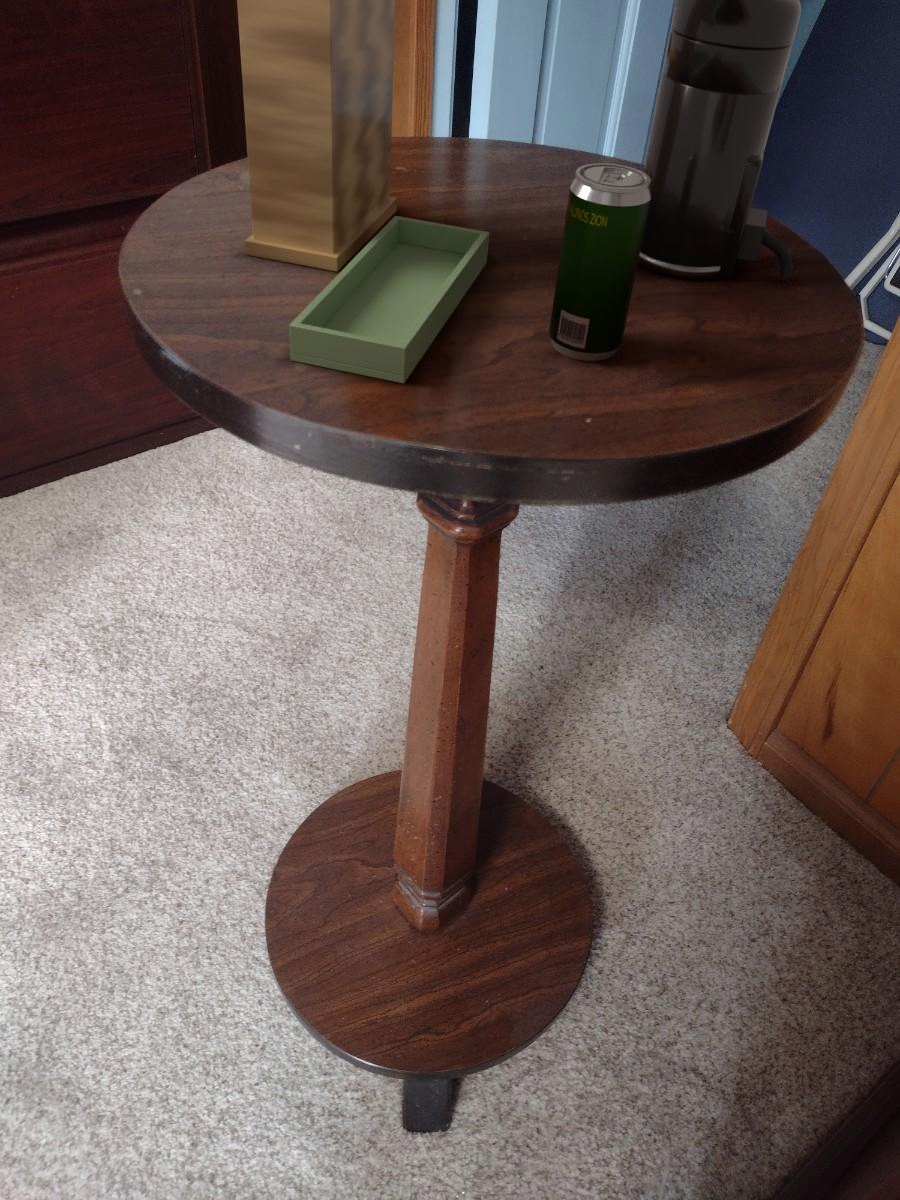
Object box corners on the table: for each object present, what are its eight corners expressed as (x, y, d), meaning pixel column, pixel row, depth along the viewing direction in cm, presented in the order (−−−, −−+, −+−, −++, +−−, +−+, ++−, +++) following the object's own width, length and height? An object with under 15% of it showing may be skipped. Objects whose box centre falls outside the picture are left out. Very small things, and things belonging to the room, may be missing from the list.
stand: (315, 196, 90) (305, -226, 70) (396, 211, 89) (410, -216, 69) (245, 254, 79) (210, -227, 59) (337, 272, 78) (332, -215, 58)
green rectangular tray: (394, 246, 83) (394, 215, 81) (486, 262, 81) (489, 232, 79) (290, 360, 66) (288, 325, 65) (404, 384, 65) (405, 348, 63)
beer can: (608, 370, 68) (642, 196, 60) (537, 351, 70) (561, 179, 62) (628, 339, 72) (663, 172, 64) (560, 322, 74) (586, 157, 66)
